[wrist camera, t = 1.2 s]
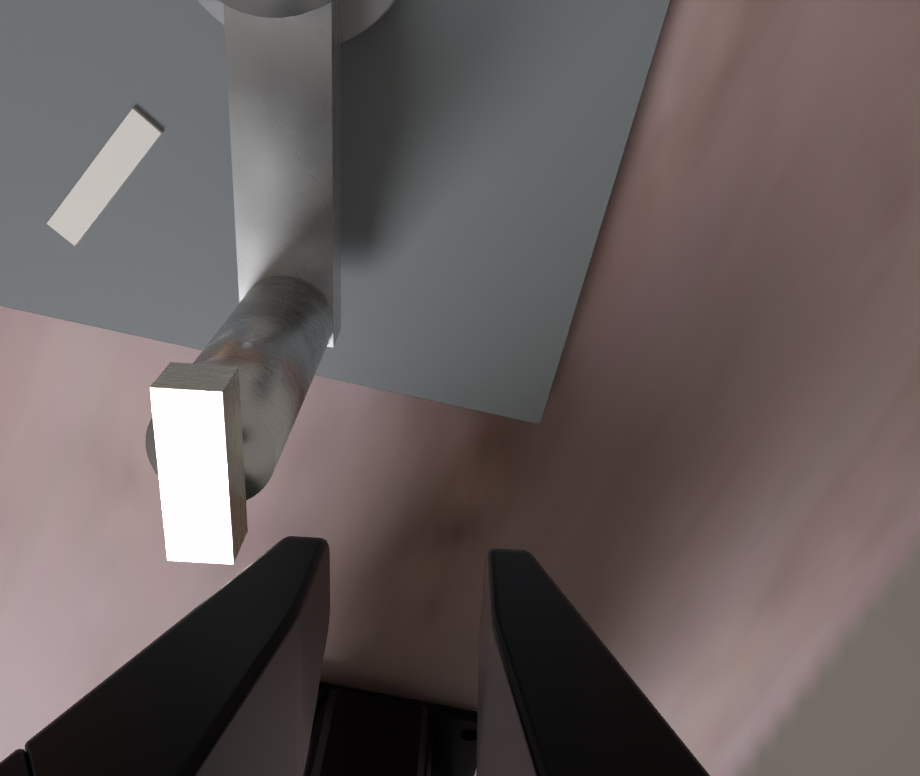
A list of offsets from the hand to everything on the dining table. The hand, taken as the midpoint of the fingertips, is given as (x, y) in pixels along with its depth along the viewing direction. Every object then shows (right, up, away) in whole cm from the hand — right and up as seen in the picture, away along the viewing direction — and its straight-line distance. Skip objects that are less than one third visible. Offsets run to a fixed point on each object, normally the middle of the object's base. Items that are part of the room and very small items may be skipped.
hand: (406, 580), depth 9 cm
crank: (-3, +7, +8) cm, 11 cm away
